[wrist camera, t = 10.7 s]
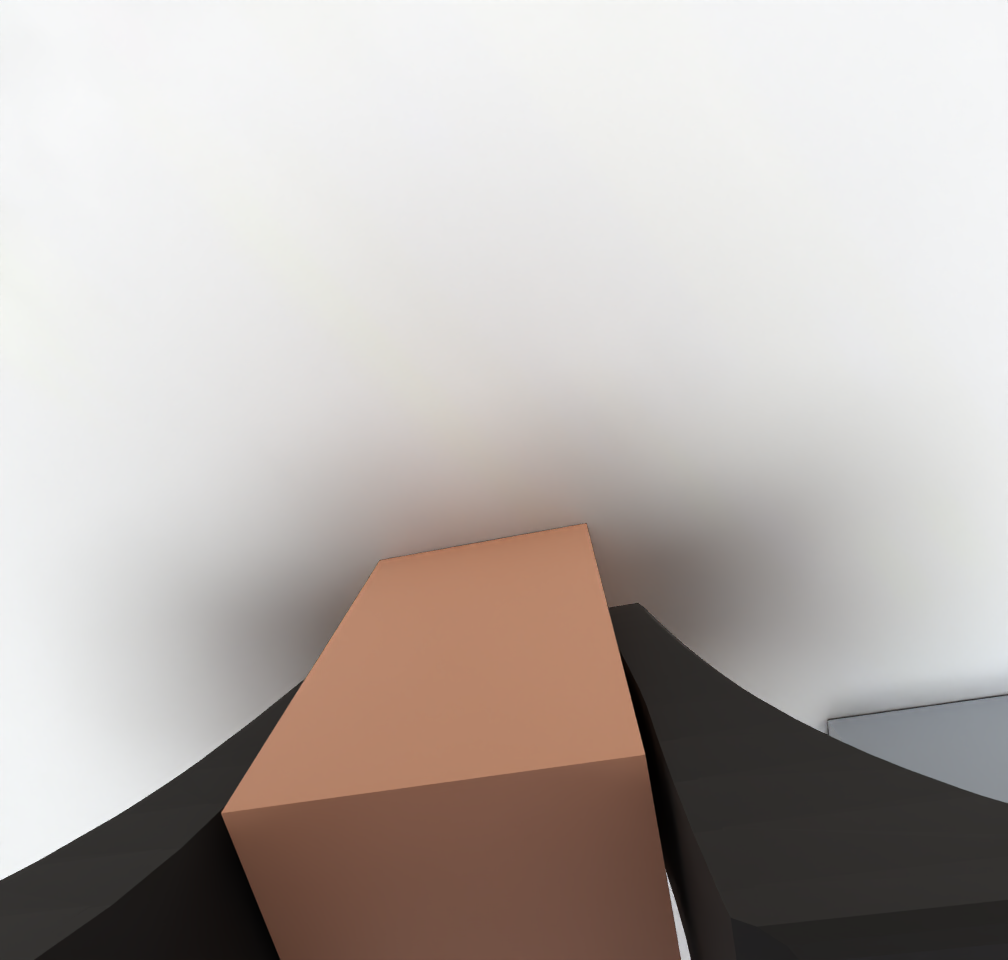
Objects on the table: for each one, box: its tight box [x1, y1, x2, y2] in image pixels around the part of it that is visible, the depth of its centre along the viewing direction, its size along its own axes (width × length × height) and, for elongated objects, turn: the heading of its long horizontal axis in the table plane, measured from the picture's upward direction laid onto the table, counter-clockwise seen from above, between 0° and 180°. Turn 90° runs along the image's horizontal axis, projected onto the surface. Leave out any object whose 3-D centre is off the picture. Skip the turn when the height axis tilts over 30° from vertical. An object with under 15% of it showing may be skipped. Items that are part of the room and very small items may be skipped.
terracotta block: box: [221, 523, 681, 960], centre depth 9 cm, size 4×4×6 cm
